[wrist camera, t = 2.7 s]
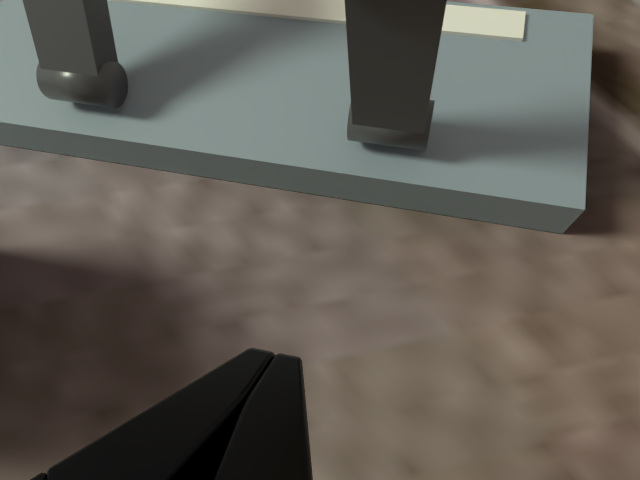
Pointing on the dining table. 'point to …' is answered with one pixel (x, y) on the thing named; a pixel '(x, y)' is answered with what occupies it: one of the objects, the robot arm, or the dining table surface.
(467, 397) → the dining table surface
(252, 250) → the dining table surface
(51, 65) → the on lever
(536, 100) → the switch panel
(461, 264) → the dining table surface
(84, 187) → the dining table surface
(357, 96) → the lever
